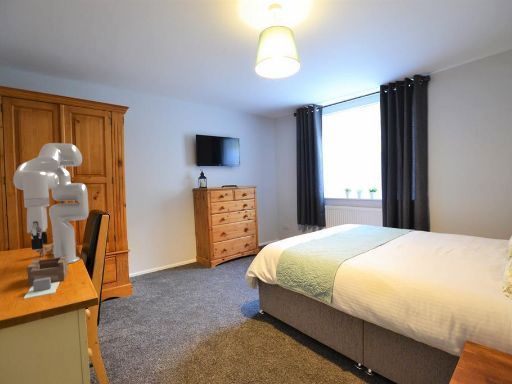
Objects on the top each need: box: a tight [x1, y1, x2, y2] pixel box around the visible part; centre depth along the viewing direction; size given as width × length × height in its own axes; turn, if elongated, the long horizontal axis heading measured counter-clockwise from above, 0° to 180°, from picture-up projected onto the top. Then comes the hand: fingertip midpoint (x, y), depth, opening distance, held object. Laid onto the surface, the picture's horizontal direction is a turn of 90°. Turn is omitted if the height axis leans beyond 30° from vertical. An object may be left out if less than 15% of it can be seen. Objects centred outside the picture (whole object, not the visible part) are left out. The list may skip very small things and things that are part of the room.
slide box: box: [26, 255, 69, 288], centre depth 118 cm, size 14×12×8 cm
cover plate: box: [22, 277, 61, 300], centre depth 104 cm, size 13×9×5 cm
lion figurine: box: [33, 242, 54, 258], centre depth 159 cm, size 15×5×9 cm, turn 155°
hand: (40, 246), depth 104 cm, fingers open, 9 cm apart
